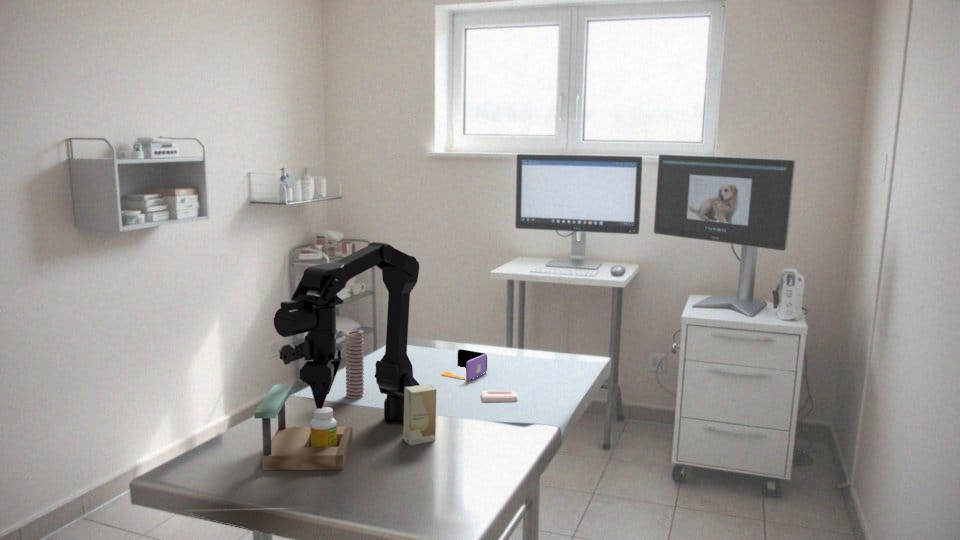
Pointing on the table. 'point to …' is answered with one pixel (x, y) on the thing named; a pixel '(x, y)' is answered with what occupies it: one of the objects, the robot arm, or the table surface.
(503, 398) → the soap bar
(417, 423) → the skincare box
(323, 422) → the supplement bottle
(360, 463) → the table surface
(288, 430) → the socket plate
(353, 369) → the coil
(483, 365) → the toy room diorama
